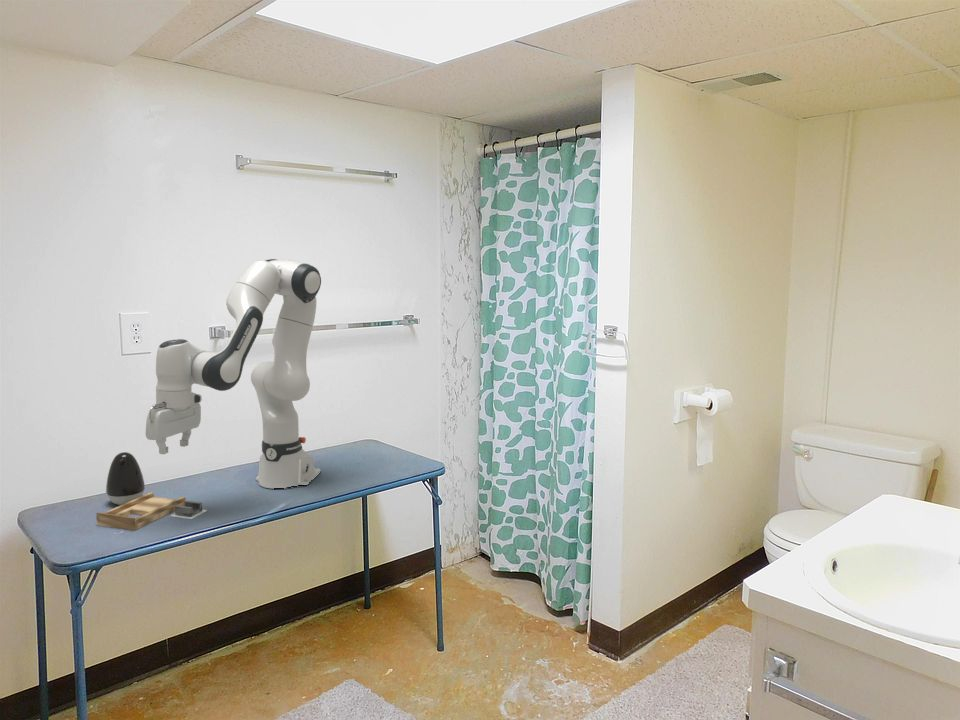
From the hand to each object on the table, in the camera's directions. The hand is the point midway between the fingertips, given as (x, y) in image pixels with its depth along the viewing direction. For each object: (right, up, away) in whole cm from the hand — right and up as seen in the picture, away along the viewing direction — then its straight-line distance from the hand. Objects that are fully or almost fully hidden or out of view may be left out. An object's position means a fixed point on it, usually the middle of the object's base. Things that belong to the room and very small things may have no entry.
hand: (174, 449), depth 191 cm
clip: (+2, -18, +5) cm, 19 cm away
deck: (-10, -20, +4) cm, 22 cm away
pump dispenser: (-21, -18, +16) cm, 32 cm away
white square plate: (+2, -20, +6) cm, 20 cm away
